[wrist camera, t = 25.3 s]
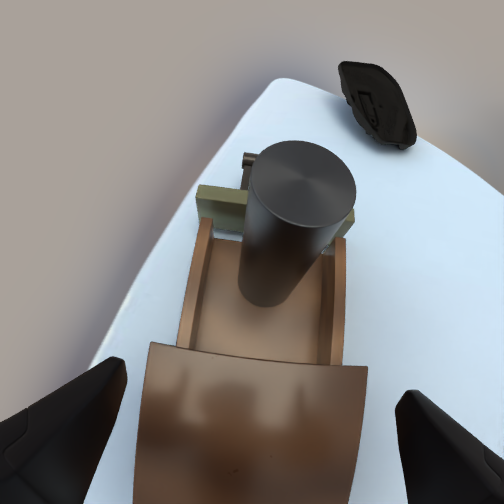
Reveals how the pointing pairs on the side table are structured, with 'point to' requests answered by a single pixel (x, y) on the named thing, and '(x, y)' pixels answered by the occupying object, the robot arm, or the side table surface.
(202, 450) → the cabinet
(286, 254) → the cylinder
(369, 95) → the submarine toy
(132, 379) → the side table surface
